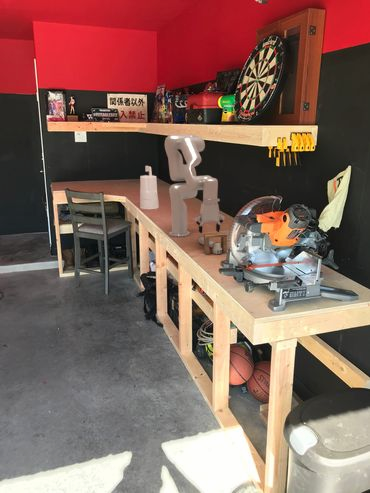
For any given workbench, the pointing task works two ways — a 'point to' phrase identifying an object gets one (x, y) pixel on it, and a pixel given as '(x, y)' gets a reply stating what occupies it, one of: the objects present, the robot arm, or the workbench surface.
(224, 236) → the walnut sleeve
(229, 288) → the workbench surface
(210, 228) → the workbench surface
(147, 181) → the white pump bottle
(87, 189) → the workbench surface
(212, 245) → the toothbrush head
